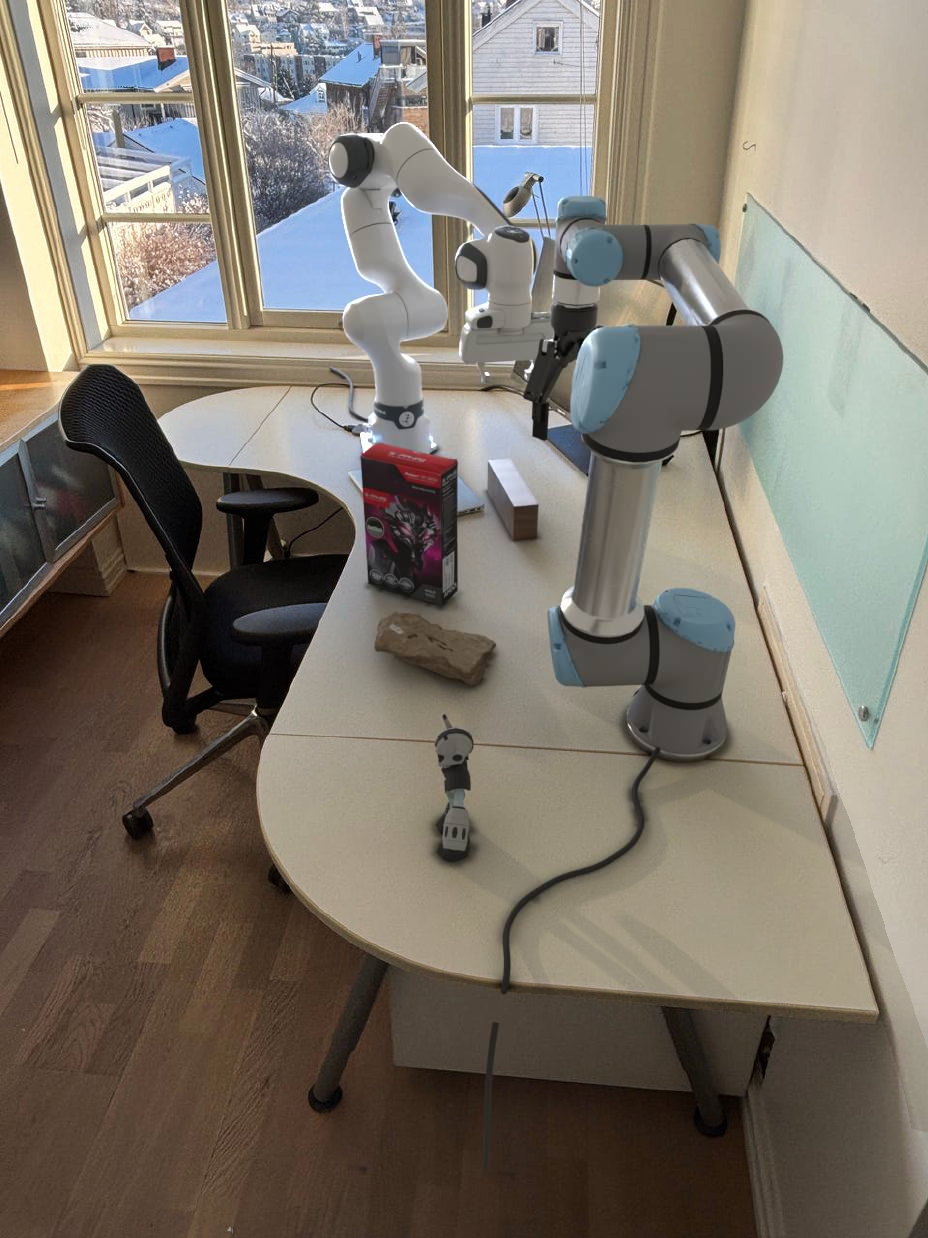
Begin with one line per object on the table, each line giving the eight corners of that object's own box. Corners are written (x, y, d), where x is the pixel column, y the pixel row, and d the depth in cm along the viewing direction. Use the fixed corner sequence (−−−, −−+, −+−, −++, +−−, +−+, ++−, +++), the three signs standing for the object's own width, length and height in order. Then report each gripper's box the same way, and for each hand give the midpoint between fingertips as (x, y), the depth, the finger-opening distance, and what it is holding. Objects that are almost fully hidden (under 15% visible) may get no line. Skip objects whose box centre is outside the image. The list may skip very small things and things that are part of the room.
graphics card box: (364, 585, 178) (356, 453, 162) (384, 569, 183) (377, 440, 167) (442, 608, 171) (441, 473, 156) (460, 591, 176) (461, 458, 161)
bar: (536, 537, 194) (538, 504, 190) (512, 539, 193) (514, 506, 189) (509, 489, 213) (510, 458, 209) (487, 491, 212) (487, 460, 208)
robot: (476, 896, 116) (478, 779, 105) (437, 897, 116) (436, 781, 105) (467, 786, 132) (469, 675, 121) (434, 787, 132) (432, 676, 121)
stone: (350, 659, 152) (357, 626, 150) (382, 628, 166) (388, 598, 163) (469, 701, 149) (478, 669, 146) (492, 666, 162) (500, 636, 160)
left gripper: (554, 307, 191) (550, 372, 199) (457, 312, 187) (457, 378, 195) (563, 315, 186) (558, 382, 193) (464, 321, 182) (463, 389, 190)
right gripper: (604, 284, 157) (593, 403, 169) (504, 312, 142) (500, 440, 154) (640, 292, 153) (626, 414, 165) (540, 322, 138) (533, 454, 150)
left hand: (507, 380), depth 194 cm, fingers open, 8 cm apart
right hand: (565, 427), depth 159 cm, fingers open, 13 cm apart
